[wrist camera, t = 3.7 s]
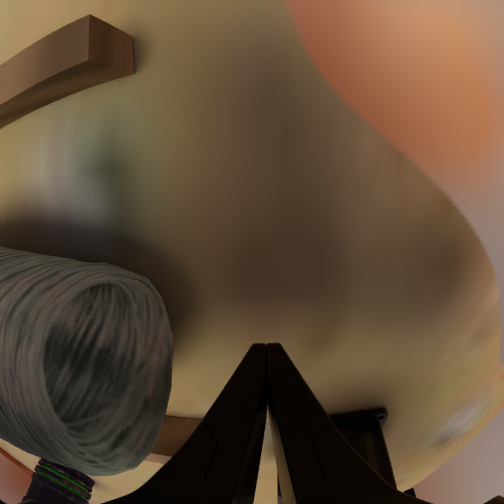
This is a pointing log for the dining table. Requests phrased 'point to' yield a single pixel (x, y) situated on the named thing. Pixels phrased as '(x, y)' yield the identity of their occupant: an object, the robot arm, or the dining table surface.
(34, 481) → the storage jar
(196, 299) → the dining table surface
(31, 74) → the guide rails
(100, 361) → the spool
